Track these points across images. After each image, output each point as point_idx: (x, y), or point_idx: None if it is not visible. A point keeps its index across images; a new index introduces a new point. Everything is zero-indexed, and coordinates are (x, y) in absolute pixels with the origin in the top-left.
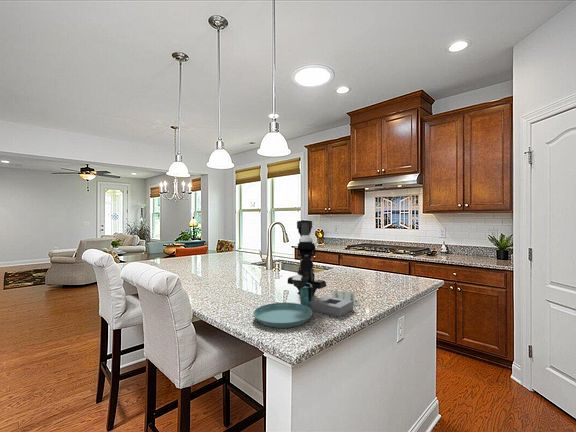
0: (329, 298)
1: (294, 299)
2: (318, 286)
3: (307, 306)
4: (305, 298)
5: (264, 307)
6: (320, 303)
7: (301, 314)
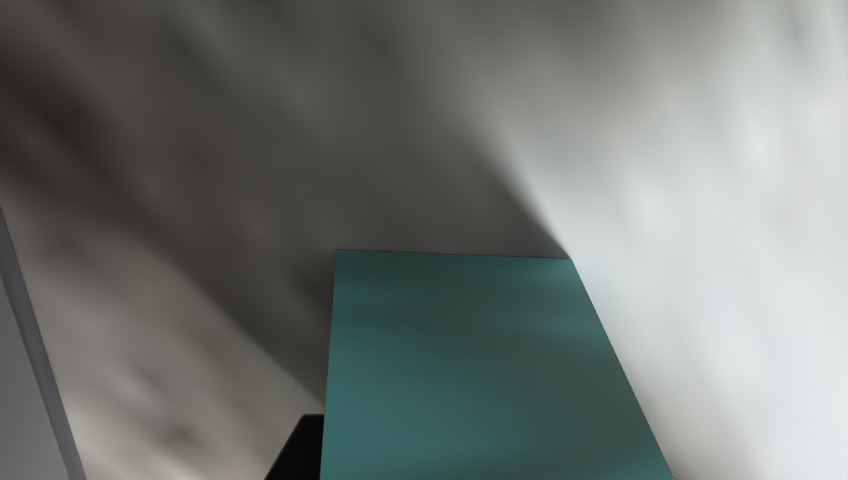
0: None
1: (840, 462)
2: None
3: (343, 251)
4: (422, 421)
5: None
6: None
7: None
